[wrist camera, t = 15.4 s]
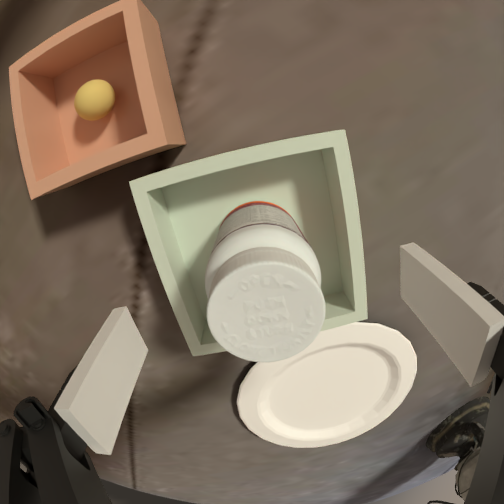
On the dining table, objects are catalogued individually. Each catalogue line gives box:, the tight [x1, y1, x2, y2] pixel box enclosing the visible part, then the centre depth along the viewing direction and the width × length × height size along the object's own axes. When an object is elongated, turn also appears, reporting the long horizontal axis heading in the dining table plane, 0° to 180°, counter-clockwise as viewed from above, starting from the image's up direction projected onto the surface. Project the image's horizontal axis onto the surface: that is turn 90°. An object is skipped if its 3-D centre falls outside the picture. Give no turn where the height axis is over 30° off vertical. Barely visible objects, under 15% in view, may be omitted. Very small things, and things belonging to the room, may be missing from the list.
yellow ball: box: [74, 79, 115, 121], centre depth 17 cm, size 3×3×3 cm
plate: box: [237, 321, 417, 448], centre depth 30 cm, size 21×21×2 cm
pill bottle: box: [205, 201, 326, 362], centre depth 18 cm, size 6×6×11 cm
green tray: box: [129, 130, 368, 356], centre depth 22 cm, size 14×14×4 cm
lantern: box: [426, 397, 490, 504], centre depth 23 cm, size 19×19×30 cm
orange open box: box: [9, 0, 186, 200], centre depth 17 cm, size 11×11×6 cm
